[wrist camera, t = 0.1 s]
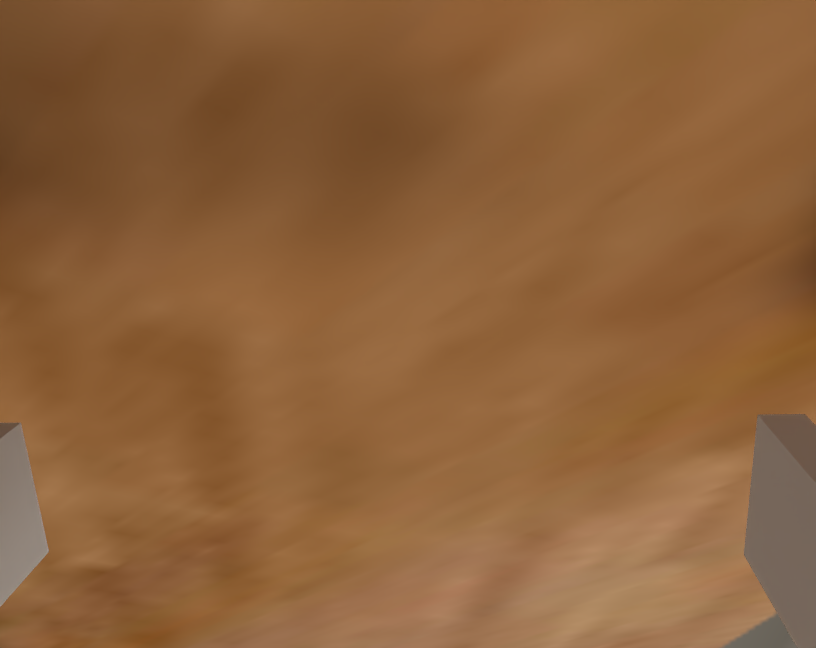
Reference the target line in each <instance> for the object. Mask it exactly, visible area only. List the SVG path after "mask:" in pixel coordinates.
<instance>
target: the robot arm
mask: <svg viewBox="0 0 816 648" xmlns="http://www.w3.org/2000/svg"><path fill="white" fill-rule="evenodd" d="M48 552H49V550H48V545H47V541H46V536H45V532H44V527H43V522H42V518H41V513H40V509H39V504H38V499H37V495H36V490H35V486H34V481H33V476H32V472H31V467H30V463H29V458H28V453H27V449H26V444H25V440H24V435H23V430H22V426H21V423H0V606H1V605H2V604H3V603H4V602H5V601H6V600H7V599H8V597H9V596H10V595H11V594H12V593H13V592H14V591H15V589H16V588H17V587H18V586H19V585H20V584H21V583H22V582H23V580H24V579H25V578H26V577H27V576H28V575H29V574H30V572H31V571H32V570H33V569H34V568H35V567H36V566H37V565H38V563H39V562H40V561H41V560H42V559H43V558H44V557H45V555H46V554H47V553H48ZM744 556H745V557H746V559H747V561H748V563H749V564H750V566H751V568H752V570H753V571H754V573H755V575H756V577H757V578H758V580H759V582H760V584H761V585H762V587H763V589H764V591H765V592H766V594H767V596H768V598H769V599H770V601H771V603H772V605H773V606H774V608H775V610H776V612H777V613H778V615H779V617H780V619H781V620H782V622H783V624H784V626H785V627H786V629H787V631H788V633H789V634H790V636H791V638H792V640H793V641H794V643H795V645H796V647H797V648H816V425H815V424H814V423H813V422H812V421H811V420H810V419H809V418H808V417H807V416H806V415H805V414H774V415H758V417H757V427H756V437H755V447H754V457H753V467H752V477H751V488H750V498H749V508H748V518H747V528H746V538H745V548H744Z"/></svg>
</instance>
